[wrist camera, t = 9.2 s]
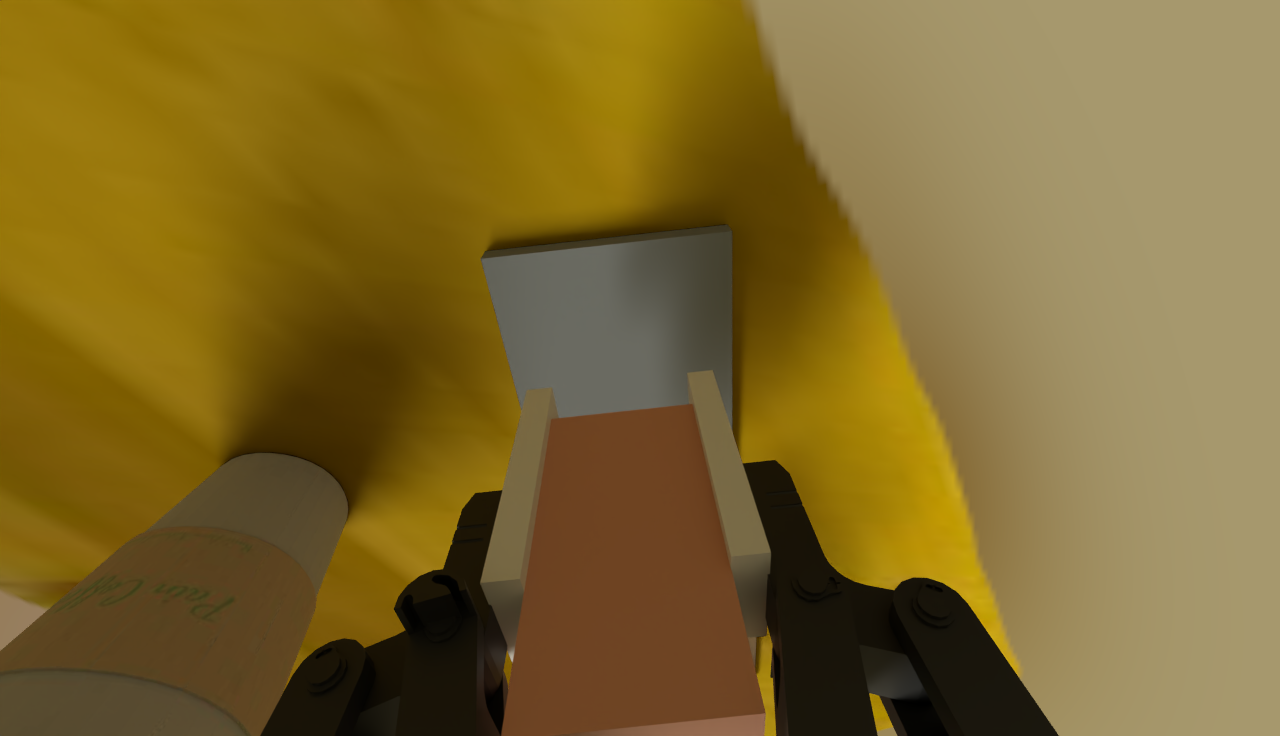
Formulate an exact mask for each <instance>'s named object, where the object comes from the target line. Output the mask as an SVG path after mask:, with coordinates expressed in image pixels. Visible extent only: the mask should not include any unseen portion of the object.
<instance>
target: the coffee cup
mask: <svg viewBox="0 0 1280 736" xmlns="http://www.w3.org/2000/svg"><path fill="white" fill-rule="evenodd" d="M347 515H348V502H347V498H346V496H345V493H344V491H343V489H342V488H341V486H340V484H339V483H338V482H337V481H336V480H335V479H334V477H333V476H332V475H331V474H329V473H328V472H327V471H325V470H324V469H323V468H321V467H319V466H317V465H315V464H314V463H312V462H309V461H307V460H304V459H301V458H298V457H294V456H289V455H285V454H276V453H253V454H246V455H242V456H239V457H236V458H233V459H231V460H230V461H228V462H227V463H225V464H224V465H222V466H221V467H220V468H219V469H218V470H216V471H215V472H214V473H213V474H212V475H211V476H209V477H208V478H207V479H206V480H205V481H204V482H203V483H201V484H200V485H199V486H198V487H197V488H196V489H194V490H193V491H192V492H191V493H190V494H189V495H187V496H186V497H185V498H184V499H183V500H182V501H181V502H179V503H178V504H177V505H176V506H175V507H174V508H172V509H171V510H170V511H169V512H168V513H167V514H165V515H164V516H163V517H162V518H161V519H160V520H159V521H157V522H156V523H155V524H154V525H153V526H152V527H150V528H149V529H148V530H147V531H146V532H145V533H142V534H139V535H138V536H136V537H134V538H133V539H131V540H130V541H128V542H127V543H125V544H124V545H123V546H122V547H121V548H120V549H118V550H117V551H116V552H115V553H114V554H113V555H111V556H110V557H109V558H108V559H107V560H106V561H104V562H103V563H102V564H101V565H100V566H99V567H97V568H96V569H95V570H94V571H93V572H92V573H90V574H89V575H88V576H87V577H86V578H85V579H84V580H82V581H81V582H80V583H79V584H78V585H77V586H75V587H74V588H73V589H72V590H71V591H70V592H68V593H67V594H66V595H65V596H64V597H63V598H61V599H60V600H59V601H58V602H57V603H56V604H54V605H53V606H52V607H51V608H50V609H49V610H47V611H46V612H45V613H44V614H43V615H42V616H40V617H39V618H38V619H37V620H36V621H35V622H33V623H32V624H31V625H30V626H29V627H28V628H26V629H25V630H24V631H23V632H22V633H21V634H20V635H18V636H17V637H16V638H15V639H14V640H13V641H11V642H10V643H9V644H8V645H7V646H6V647H5V648H3V649H2V650H1V651H0V736H260V735H261V733H262V731H263V729H264V728H265V726H266V724H267V722H268V720H269V718H270V716H271V715H272V713H273V711H274V709H275V707H276V705H277V703H278V702H279V700H280V698H281V695H282V693H283V690H284V688H285V685H286V683H287V680H288V677H289V675H290V672H291V670H292V667H293V665H294V662H295V660H296V657H297V655H298V652H299V649H300V647H301V644H302V642H303V639H304V637H305V634H306V632H307V629H308V627H309V624H310V622H311V619H312V616H313V614H314V611H315V607H316V596H317V594H318V591H319V589H320V586H321V584H322V581H323V578H324V576H325V573H326V571H327V568H328V566H329V563H330V561H331V558H332V556H333V553H334V551H335V548H336V546H337V543H338V540H339V538H340V535H341V533H342V530H343V528H344V525H345V523H346V520H347Z"/></svg>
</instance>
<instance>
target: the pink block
mask: <svg viewBox="0 0 1280 736" xmlns="http://www.w3.org/2000/svg"><path fill="white" fill-rule="evenodd" d="M764 729H765V709H764V705H763V701H762V696H761V692H760V688H759V684H758V679H757V675H756V671H755V667H754V663H753V658H752V654H751V650H750V646H749V641H748V637H747V633H746V629H745V624H744V620H743V616H742V612H741V607H740V603H739V599H738V595H737V590H736V586H735V582H734V578H733V573H732V570H731V567H730V563H729V558H728V554H727V550H726V546H725V541H724V537H723V533H722V529H721V524H720V520H719V516H718V511H717V507H716V503H715V499H714V494H713V490H712V486H711V481H710V477H709V473H708V469H707V464H706V460H705V456H704V452H703V447H702V443H701V439H700V434H699V430H698V426H697V422H696V417H695V413H694V409H693V404H686V405H677V406H667V407H658V408H649V409H639V410H630V411H621V412H611V413H602V414H593V415H583V416H574V417H565V418H555V419H551V424H550V431H549V437H548V443H547V450H546V456H545V462H544V469H543V475H542V482H541V488H540V494H539V501H538V507H537V513H536V520H535V526H534V533H533V539H532V545H531V552H530V558H529V565H528V571H527V577H526V584H525V590H524V594H523V600H522V607H521V613H520V619H519V626H518V632H517V639H516V645H515V651H514V658H513V664H512V670H511V677H510V683H509V689H508V696H507V702H506V708H505V715H504V721H503V727H502V734H501V736H764Z"/></svg>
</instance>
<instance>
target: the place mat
mask: <svg viewBox="0 0 1280 736" xmlns="http://www.w3.org/2000/svg"><path fill="white" fill-rule="evenodd" d="M481 261H482V265H483V269H484V272H485V276H486V280H487V283H488V287H489V291H490V295H491V298H492V302H493V306H494V310H495V313H496V317H497V321H498V324H499V328H500V332H501V336H502V339H503V343H504V347H505V350H506V354H507V358H508V362H509V365H510V369H511V373H512V376H513V380H514V384H515V388H516V391H517V395H518V399H519V403H520V406H521V410H522V408H523V404H524V400H525V395H526V391H527V390H532V389H541V388H551V387H552V389H553V394H554V398H555V403H556V407H557V412H558V416H559V418H565V417H574V416H583V415H593V414H602V413H611V412H621V411H630V410H639V409H649V408H658V407H667V406H677V405H686V404H689V398H688V380H687V373H690V372H700V371H709V370H713V373H714V376H715V379H716V382H717V386H718V389H719V392H720V395H721V398H722V401H723V404H724V407H725V411H726V414H727V417H728V420H729V423H730V426H731V429H732V230H731V229H730V227H729V226H728V225H719V226H710V227H701V228H692V229H682V230H673V231H664V232H655V233H646V234H637V235H628V236H619V237H610V238H601V239H592V240H583V241H574V242H565V243H556V244H547V245H538V246H528V247H519V248H510V249H501V250H492V251H485V253H484V254H483V256H482V258H481Z"/></svg>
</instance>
